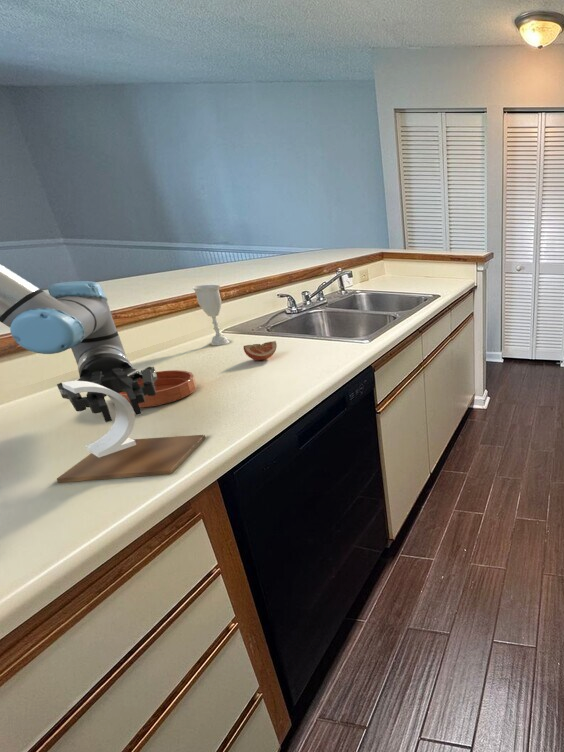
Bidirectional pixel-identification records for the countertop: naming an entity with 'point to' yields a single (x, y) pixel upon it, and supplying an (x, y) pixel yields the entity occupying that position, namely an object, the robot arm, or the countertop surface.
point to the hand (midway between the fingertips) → (121, 410)
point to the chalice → (211, 308)
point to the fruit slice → (260, 350)
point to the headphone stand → (122, 426)
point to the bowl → (168, 387)
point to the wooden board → (136, 459)
